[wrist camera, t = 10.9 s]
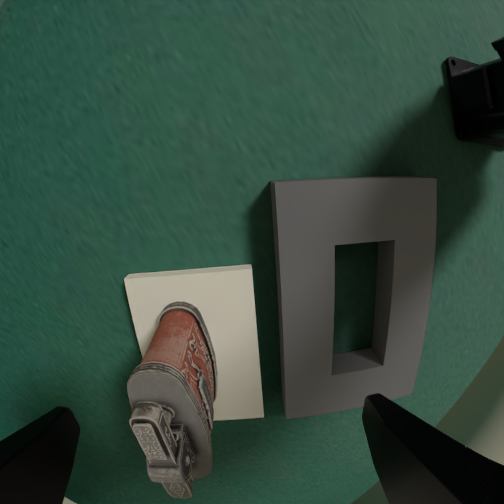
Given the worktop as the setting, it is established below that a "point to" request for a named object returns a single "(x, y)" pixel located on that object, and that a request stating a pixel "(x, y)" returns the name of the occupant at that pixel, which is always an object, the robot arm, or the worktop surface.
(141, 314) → the rubber mat
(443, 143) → the worktop surface
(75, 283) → the worktop surface
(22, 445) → the robot arm
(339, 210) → the grey rectangular frame
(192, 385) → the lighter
